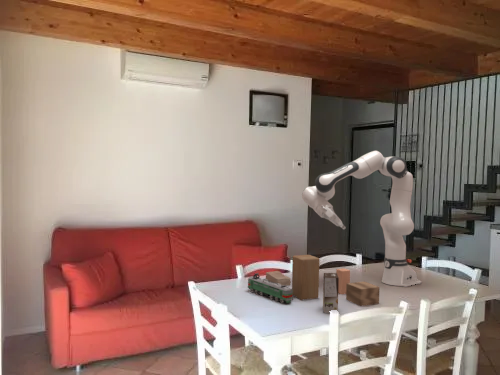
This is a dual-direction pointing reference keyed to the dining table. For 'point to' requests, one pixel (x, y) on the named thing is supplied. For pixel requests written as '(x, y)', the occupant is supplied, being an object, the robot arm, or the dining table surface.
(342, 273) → the terracotta block
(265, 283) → the toy train
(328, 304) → the coffee box
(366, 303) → the tower base
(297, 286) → the wooden block
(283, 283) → the brick
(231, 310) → the dining table surface
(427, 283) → the dining table surface
